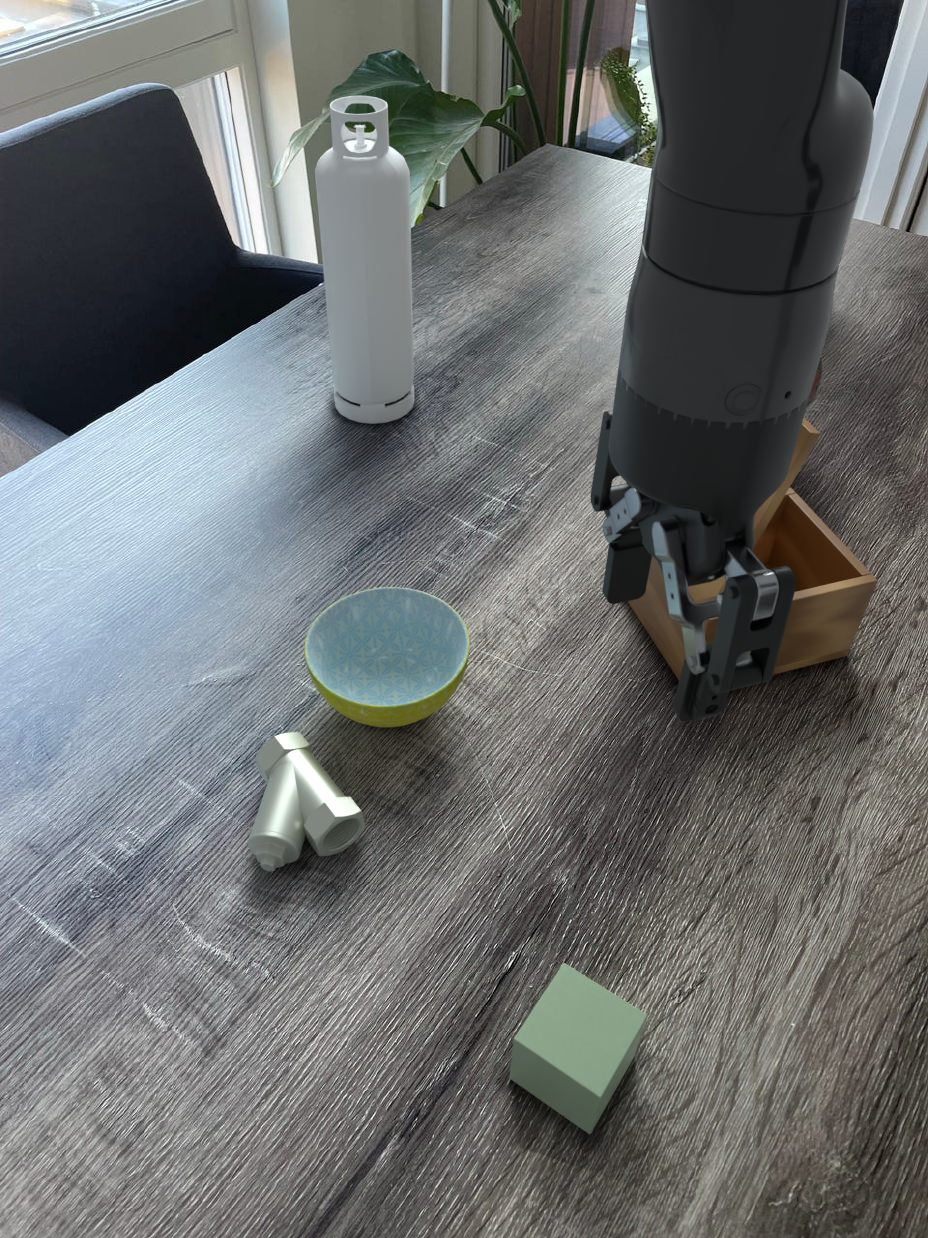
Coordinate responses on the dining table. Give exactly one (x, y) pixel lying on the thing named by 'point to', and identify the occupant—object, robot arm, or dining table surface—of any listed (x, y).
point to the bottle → (367, 265)
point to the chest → (821, 602)
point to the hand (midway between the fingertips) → (657, 651)
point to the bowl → (387, 655)
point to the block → (576, 1047)
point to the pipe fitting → (299, 805)
